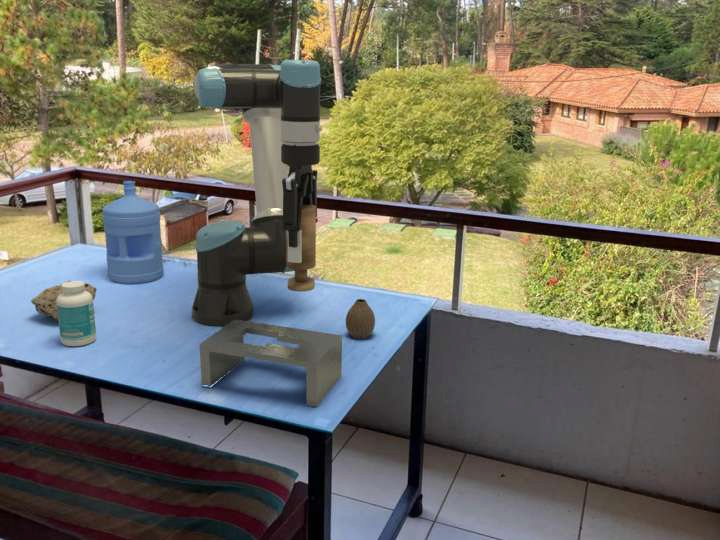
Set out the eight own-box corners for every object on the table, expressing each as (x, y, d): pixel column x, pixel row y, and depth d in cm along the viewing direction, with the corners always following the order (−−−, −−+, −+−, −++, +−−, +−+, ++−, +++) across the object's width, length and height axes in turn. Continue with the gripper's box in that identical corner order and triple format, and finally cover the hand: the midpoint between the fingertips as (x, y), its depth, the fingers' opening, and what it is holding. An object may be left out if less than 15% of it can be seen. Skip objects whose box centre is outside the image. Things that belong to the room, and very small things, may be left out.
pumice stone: (80, 303, 173) (77, 273, 171) (107, 313, 166) (105, 283, 164) (28, 318, 162) (24, 287, 160) (55, 329, 156) (51, 297, 153)
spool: (281, 290, 136) (281, 208, 131) (292, 281, 141) (292, 202, 137) (309, 293, 134) (309, 210, 129) (319, 284, 140) (319, 204, 135)
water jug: (123, 267, 204) (116, 176, 196) (172, 270, 202) (167, 178, 194) (97, 282, 189) (88, 184, 181) (150, 286, 187) (143, 187, 179)
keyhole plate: (201, 386, 130) (199, 344, 127) (235, 358, 143) (234, 319, 140) (316, 407, 123) (316, 363, 121) (341, 376, 136) (342, 335, 133)
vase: (364, 343, 152) (365, 307, 150) (339, 336, 156) (340, 301, 153) (380, 334, 158) (381, 299, 155) (355, 327, 162) (356, 293, 159)
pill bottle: (100, 343, 149) (95, 285, 145) (65, 350, 145) (58, 291, 141) (91, 332, 155) (86, 276, 151) (57, 339, 150) (51, 282, 146)
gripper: (301, 149, 120) (301, 272, 126) (333, 139, 137) (332, 248, 144) (262, 147, 122) (264, 268, 128) (299, 137, 139) (299, 245, 146)
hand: (300, 257), depth 136 cm, fingers closed on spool, 6 cm apart
